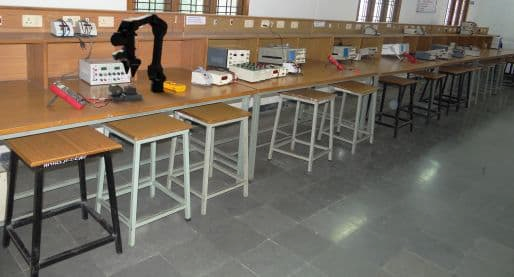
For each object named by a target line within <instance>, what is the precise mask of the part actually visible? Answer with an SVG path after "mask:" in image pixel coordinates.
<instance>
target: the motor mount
mask: <svg viewBox="0 0 514 277" xmlns="http://www.w3.org/2000/svg"><path fill="white" fill-rule="evenodd" d="M107 91H108V92H109V93H107V98H108V99H109V98H110V99H112V102H120V101H121V102H123V101H124V102H126V101H139V100H140V101H141V100H143V94H141V93H140V92H138V91H137V90H136V95H125V94H124V87H122V86H120V85H119V84H117V83H110V84H108V87H107ZM110 99H109V100H110Z"/></svg>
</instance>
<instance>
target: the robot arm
mask: <svg viewBox="0 0 514 277" xmlns="http://www.w3.org/2000/svg"><path fill="white" fill-rule="evenodd" d="M145 25H149V26H150V27H151V33H152V34H153V45H152V55H151V56H152V57H151V62H150V64H148V65H147V69H146V70H147V71H146V73H147V74H146V75H147V76H148V78H147V79H148V80H149V81H151V83H150V84H149V85H150V89H149V91H150V92H153V94H154V93H155V94H156V93H165V91H166V90H164V88H165V87H164V85H165V84H164V83H165V82H167V76H166V74H164V68H163V65H162V55H163V45H164V43H163V42H164V38H165V36H166V35H167V34H168V29H169V28H168V27H169V24H168V23H167V21H166V20H164V19H162V18H161V17H159V16H158V15H157V14H155V13H149V12H148V13H146V14H145V15H141V16H139V17H136V18H123V19H122V20H121V22H120V23H119V26H118V29H117V30H116V31H113V34H112V35H111V36H110V39H109V40H110V44H111V46H113V47H121V49H120V50H117V51H114V52H112V53H111V55H112V59H113V60H115V61H119V62H121V64H122V67H123V70H124V73H125V75H129V72H130V76H131V78H135V76H136V74H137V72H138V69H139V68H140V67H141V65H142V60H141V59H140V58H139V57H137V56H136V51H137V47H136V37H139V36H138V35H139V34H138V33H136V32H137V31H138V30H139V28H140V27H143V26H145Z"/></svg>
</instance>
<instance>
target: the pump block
mask: <svg viewBox="0 0 514 277" xmlns="http://www.w3.org/2000/svg"><path fill="white" fill-rule="evenodd" d="M136 91H137V87H135V86H134V85H133V83H127V86H125V85H124V86H123V92H124V94H125V95H136Z"/></svg>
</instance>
